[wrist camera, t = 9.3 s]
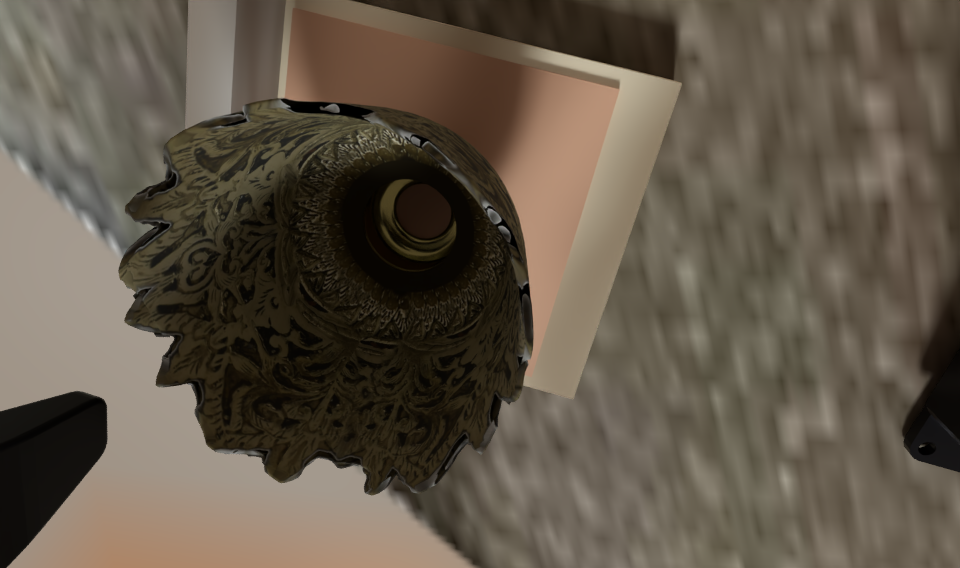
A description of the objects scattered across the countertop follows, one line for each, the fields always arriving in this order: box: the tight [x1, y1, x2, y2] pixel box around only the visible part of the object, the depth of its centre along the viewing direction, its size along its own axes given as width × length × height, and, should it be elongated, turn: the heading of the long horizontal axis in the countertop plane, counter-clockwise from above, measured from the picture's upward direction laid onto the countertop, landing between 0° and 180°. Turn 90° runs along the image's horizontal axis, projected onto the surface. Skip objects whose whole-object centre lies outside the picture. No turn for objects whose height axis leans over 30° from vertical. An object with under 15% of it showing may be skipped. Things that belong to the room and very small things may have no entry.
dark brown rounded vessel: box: [119, 98, 534, 495], centre depth 14 cm, size 8×7×8 cm
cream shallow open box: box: [185, 0, 682, 399], centre depth 17 cm, size 12×10×4 cm
